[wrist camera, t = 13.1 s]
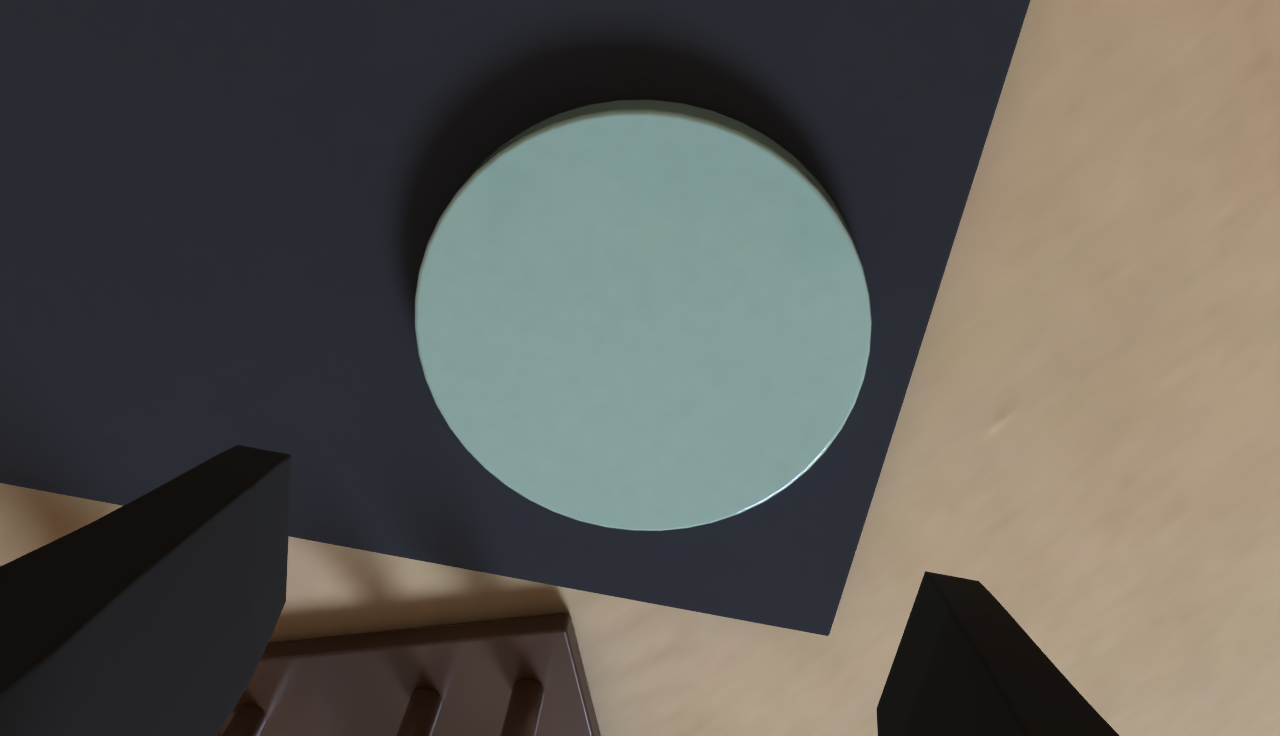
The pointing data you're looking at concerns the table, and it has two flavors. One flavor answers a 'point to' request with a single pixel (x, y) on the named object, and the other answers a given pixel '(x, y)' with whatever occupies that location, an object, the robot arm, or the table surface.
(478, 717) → the plate rack
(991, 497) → the table surface
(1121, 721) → the table surface
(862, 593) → the table surface
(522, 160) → the pale green plate
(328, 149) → the charcoal mat
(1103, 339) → the table surface
